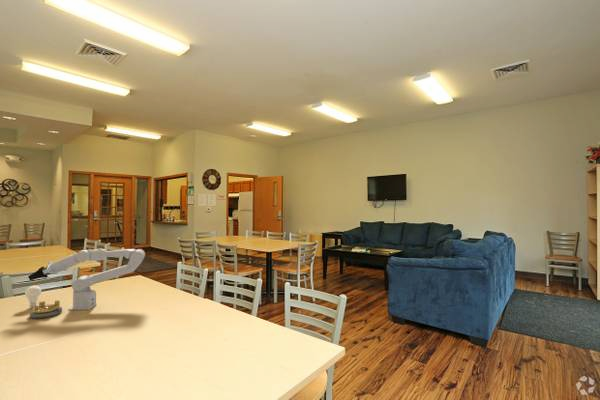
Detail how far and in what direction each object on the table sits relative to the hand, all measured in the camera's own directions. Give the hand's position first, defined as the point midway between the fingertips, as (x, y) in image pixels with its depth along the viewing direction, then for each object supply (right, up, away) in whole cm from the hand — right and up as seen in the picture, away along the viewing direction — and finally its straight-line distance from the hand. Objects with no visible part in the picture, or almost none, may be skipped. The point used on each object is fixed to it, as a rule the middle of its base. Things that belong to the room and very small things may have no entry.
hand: (33, 276), depth 150 cm
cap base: (+9, -17, -4) cm, 20 cm away
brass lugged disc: (+10, -15, -4) cm, 18 cm away
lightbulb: (-5, -17, +6) cm, 19 cm away
